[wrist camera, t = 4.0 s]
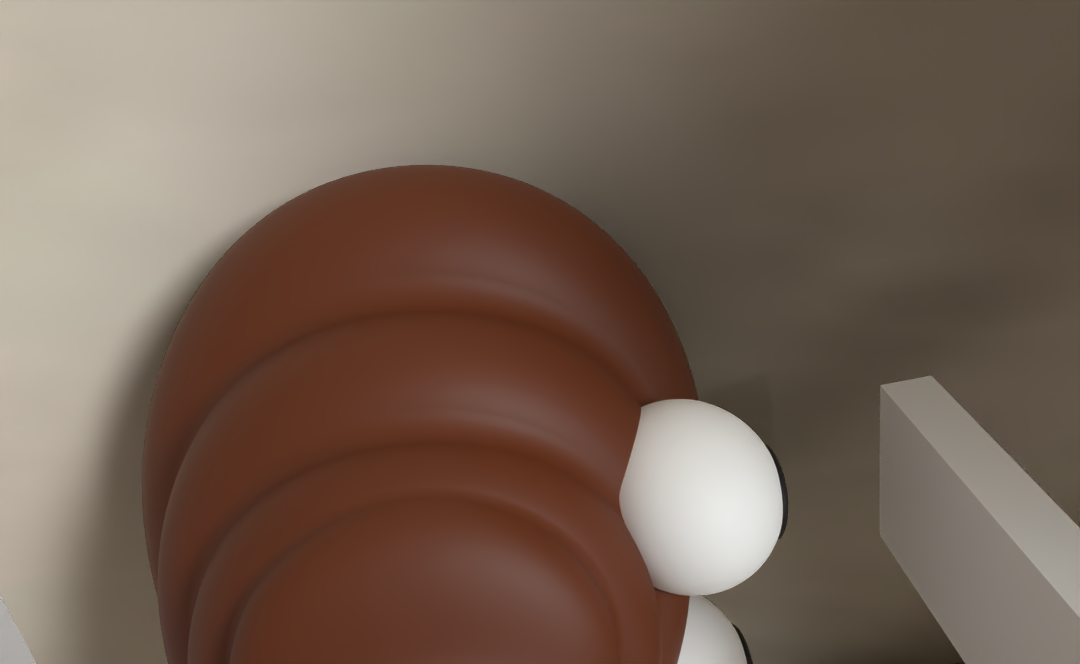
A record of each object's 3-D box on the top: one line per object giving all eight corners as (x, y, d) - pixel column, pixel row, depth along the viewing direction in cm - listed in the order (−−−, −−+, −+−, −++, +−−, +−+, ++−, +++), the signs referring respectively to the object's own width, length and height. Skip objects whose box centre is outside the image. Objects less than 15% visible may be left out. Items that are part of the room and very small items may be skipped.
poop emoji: (135, 143, 14) (-343, 594, 5) (725, 145, 15) (1111, 541, 6) (218, 669, 18) (27, 1368, 10) (667, 648, 19) (846, 1277, 11)
